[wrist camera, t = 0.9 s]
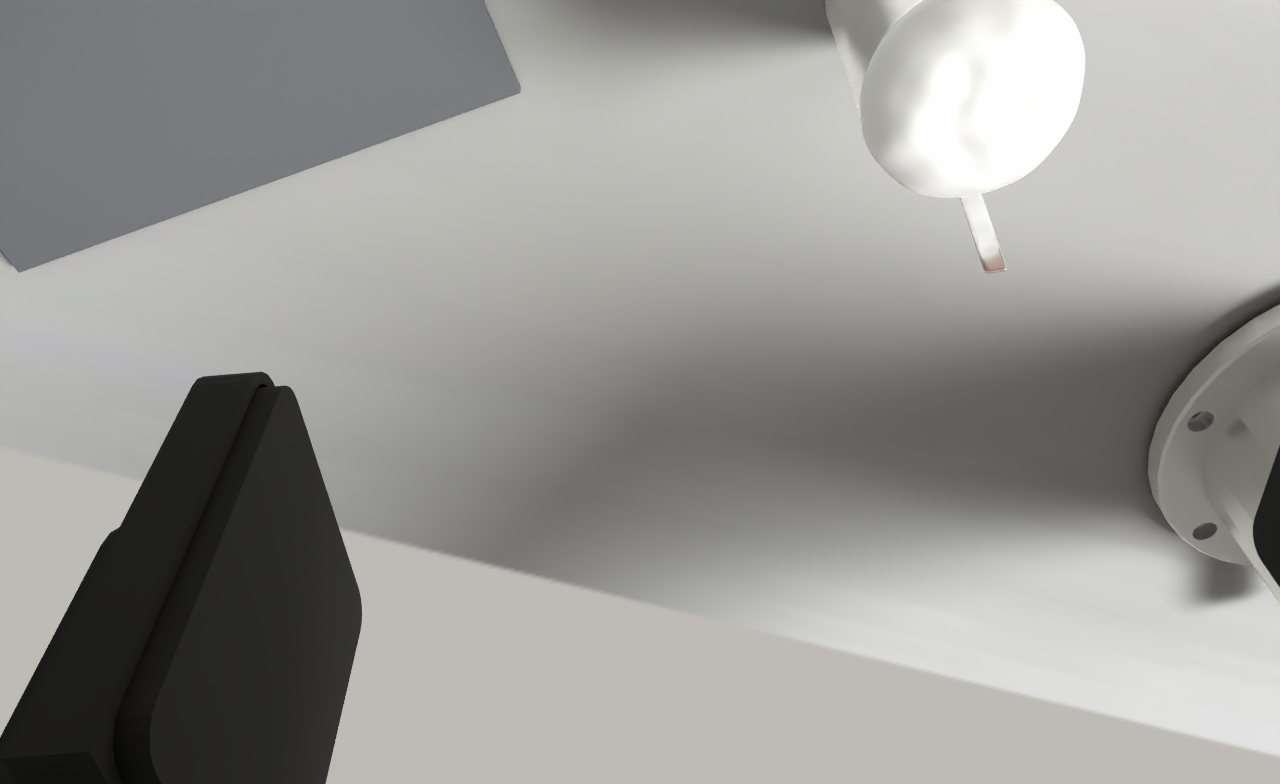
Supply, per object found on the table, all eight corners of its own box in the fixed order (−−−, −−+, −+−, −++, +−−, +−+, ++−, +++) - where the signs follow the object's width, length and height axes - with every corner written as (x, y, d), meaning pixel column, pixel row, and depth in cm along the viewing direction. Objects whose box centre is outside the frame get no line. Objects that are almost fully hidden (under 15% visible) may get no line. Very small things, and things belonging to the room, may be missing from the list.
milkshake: (804, 105, 31) (885, 290, 23) (791, -95, 28) (879, 37, 20) (965, 78, 30) (1106, 255, 22) (971, -127, 27) (1136, -6, 19)
